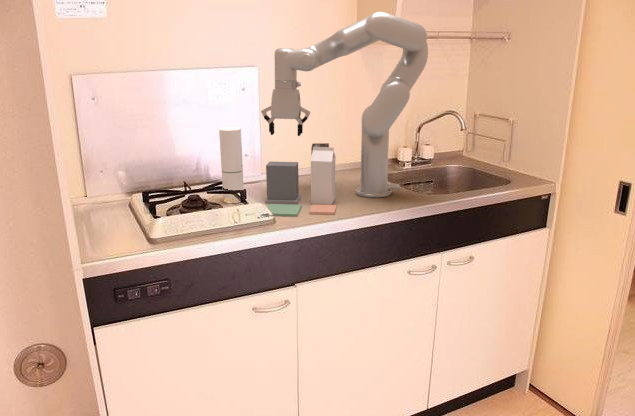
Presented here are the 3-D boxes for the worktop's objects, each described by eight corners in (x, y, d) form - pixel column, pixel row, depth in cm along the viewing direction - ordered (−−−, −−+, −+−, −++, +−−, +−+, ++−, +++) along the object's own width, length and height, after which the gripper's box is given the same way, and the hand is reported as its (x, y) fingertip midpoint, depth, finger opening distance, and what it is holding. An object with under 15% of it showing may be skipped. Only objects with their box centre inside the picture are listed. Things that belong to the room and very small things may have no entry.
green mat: (301, 207, 178) (301, 204, 178) (297, 216, 169) (297, 214, 168) (269, 206, 179) (269, 203, 179) (262, 215, 170) (262, 213, 169)
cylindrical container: (246, 197, 188) (242, 127, 181) (241, 203, 182) (237, 130, 174) (226, 197, 189) (222, 127, 182) (221, 203, 182) (216, 130, 175)
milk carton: (331, 205, 180) (331, 149, 174) (311, 204, 181) (310, 148, 175) (335, 199, 187) (335, 145, 181) (315, 198, 188) (315, 144, 182)
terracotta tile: (336, 207, 178) (336, 204, 177) (334, 214, 170) (334, 212, 170) (312, 206, 179) (312, 204, 178) (309, 214, 171) (309, 211, 171)
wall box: (300, 197, 189) (300, 161, 185) (297, 204, 181) (296, 166, 177) (269, 196, 190) (268, 160, 186) (265, 203, 182) (263, 166, 178)
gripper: (311, 85, 187) (311, 134, 192) (263, 84, 189) (264, 132, 194) (309, 87, 180) (308, 137, 185) (258, 85, 182) (259, 135, 187)
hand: (285, 134), depth 189 cm, fingers open, 9 cm apart
